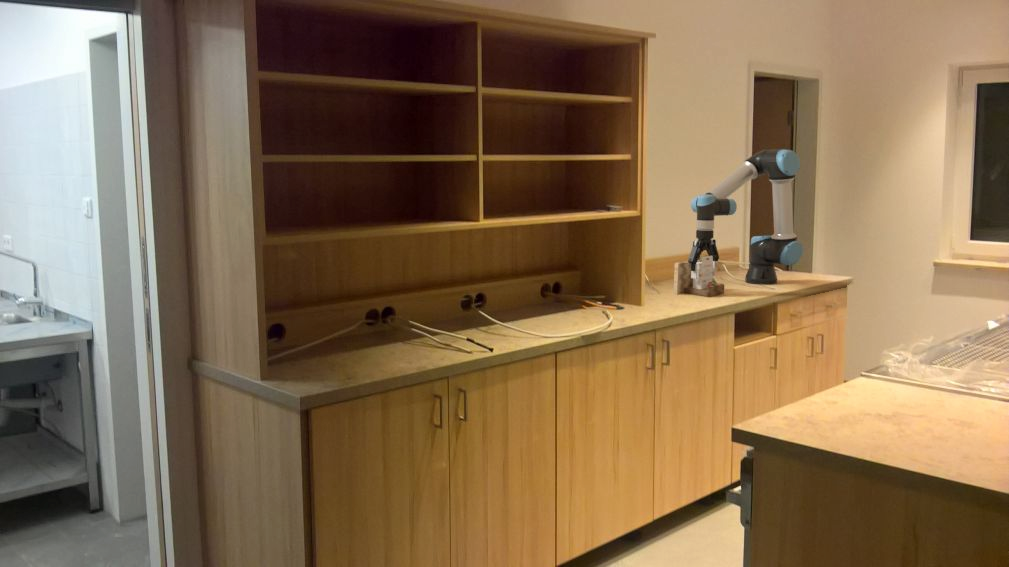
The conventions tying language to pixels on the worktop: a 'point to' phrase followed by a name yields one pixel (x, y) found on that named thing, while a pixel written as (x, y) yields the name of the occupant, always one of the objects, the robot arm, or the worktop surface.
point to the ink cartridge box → (704, 273)
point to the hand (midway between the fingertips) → (703, 276)
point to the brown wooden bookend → (685, 282)
